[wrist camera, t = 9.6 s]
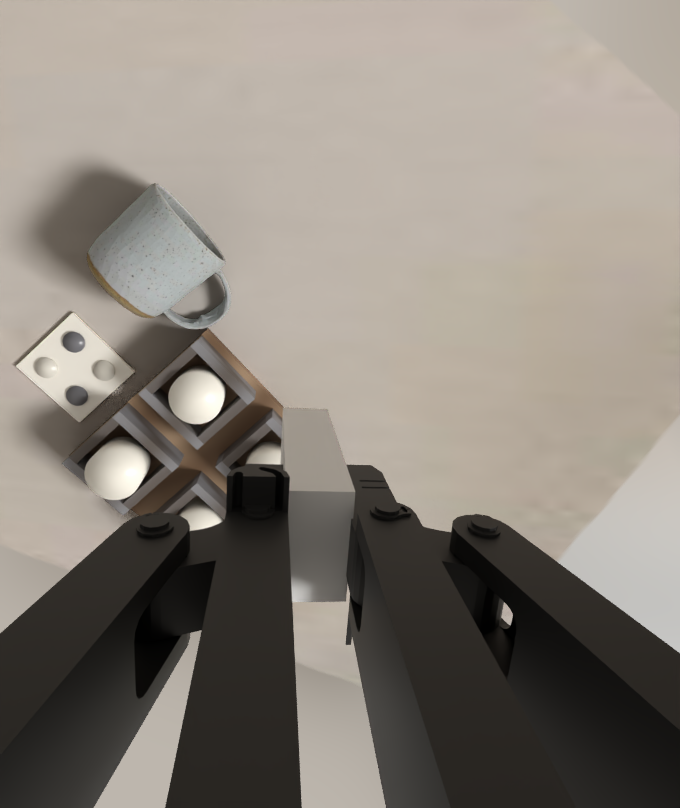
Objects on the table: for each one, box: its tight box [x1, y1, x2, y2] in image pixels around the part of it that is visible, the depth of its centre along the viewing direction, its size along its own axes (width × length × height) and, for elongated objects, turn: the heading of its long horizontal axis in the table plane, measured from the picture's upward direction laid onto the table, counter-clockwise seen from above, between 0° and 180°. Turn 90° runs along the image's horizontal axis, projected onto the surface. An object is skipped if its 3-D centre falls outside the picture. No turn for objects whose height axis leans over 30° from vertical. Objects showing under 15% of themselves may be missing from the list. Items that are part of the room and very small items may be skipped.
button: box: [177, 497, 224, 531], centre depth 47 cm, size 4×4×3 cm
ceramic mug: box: [87, 183, 231, 329], centre depth 40 cm, size 11×8×8 cm
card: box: [16, 312, 135, 423], centre depth 45 cm, size 7×7×1 cm
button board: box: [62, 329, 284, 520], centre depth 47 cm, size 16×17×4 cm
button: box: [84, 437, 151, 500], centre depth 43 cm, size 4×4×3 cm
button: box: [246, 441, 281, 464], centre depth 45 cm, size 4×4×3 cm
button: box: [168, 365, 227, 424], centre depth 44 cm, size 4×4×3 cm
